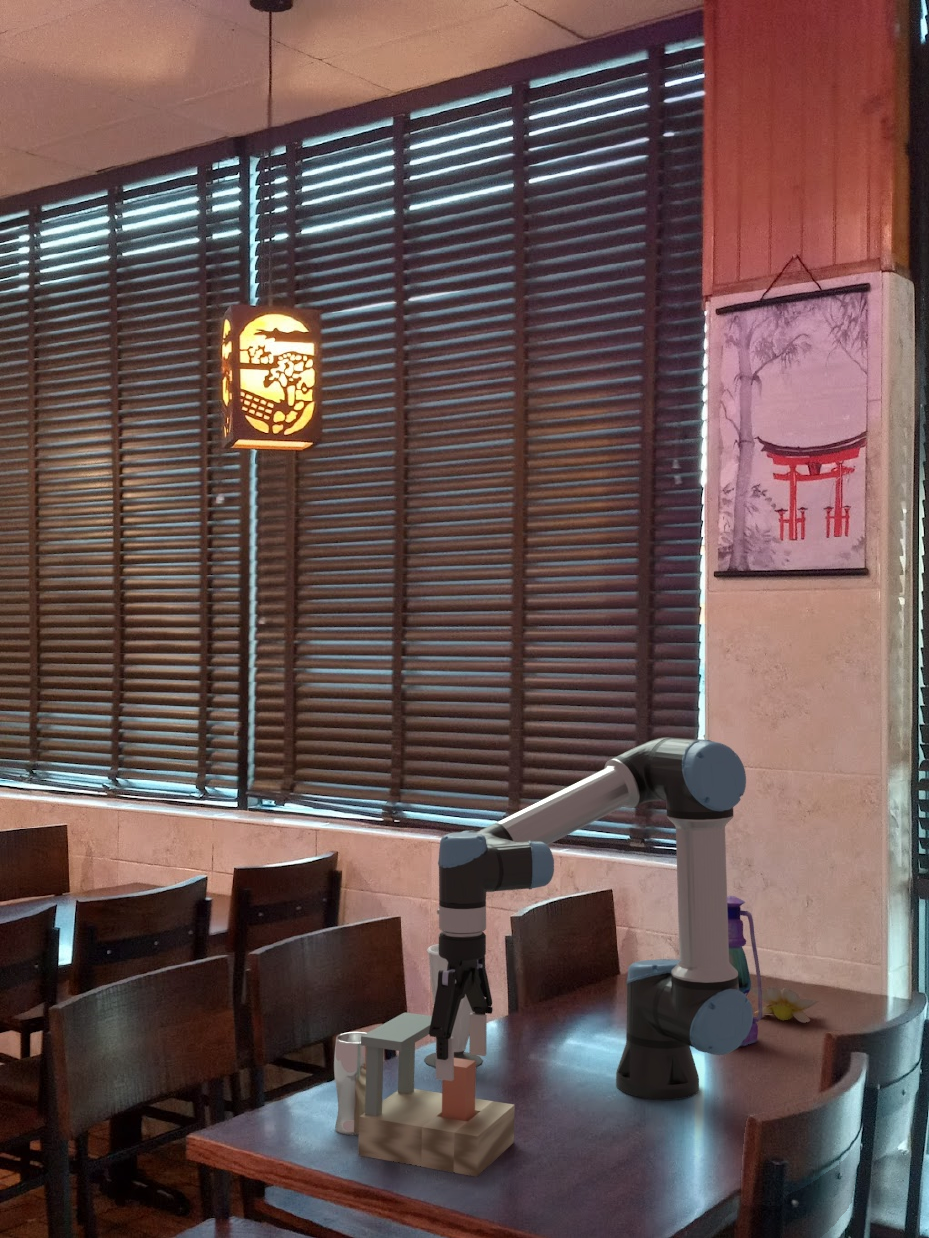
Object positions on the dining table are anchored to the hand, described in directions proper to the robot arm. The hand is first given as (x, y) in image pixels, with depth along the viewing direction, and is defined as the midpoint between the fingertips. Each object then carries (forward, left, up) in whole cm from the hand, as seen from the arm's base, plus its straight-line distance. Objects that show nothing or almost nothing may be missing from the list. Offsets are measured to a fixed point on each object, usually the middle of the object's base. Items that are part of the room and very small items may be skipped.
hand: (461, 1066), depth 208 cm
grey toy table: (+10, 0, -7) cm, 13 cm away
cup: (+20, -44, -14) cm, 50 cm away
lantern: (-26, -83, -14) cm, 88 cm away
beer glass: (+20, -2, -14) cm, 24 cm away
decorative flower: (-35, -106, -14) cm, 112 cm away
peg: (0, 0, -13) cm, 13 cm away
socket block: (+4, 0, -13) cm, 14 cm away
